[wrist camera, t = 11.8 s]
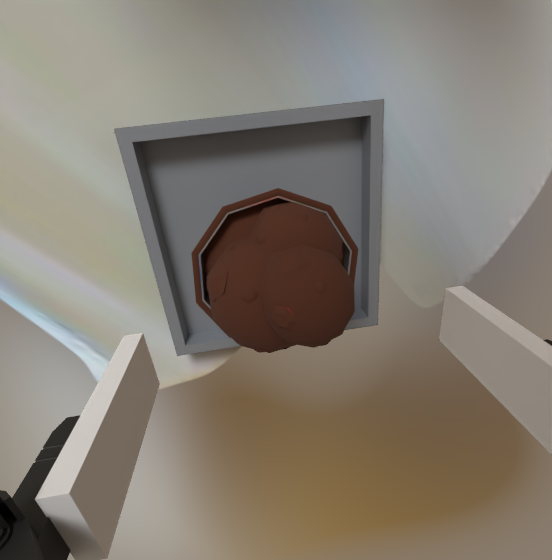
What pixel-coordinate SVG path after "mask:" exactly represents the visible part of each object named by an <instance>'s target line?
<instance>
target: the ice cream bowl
mask: <svg viewBox="0 0 552 560" xmlns="http://www.w3.org/2000/svg"><path fill="white" fill-rule="evenodd" d="M191 255H192V265H193V276H194V286H195V297H196V303H197V304H198V306H199V307H200V308H201V309H202V310H203V311H204V312H205V313H206V314H207V315H208V316H209V317H210V318H211V319H212V320H213V321H214V322H215V323H216V324H217V325H218V326H219V327H220V328H221V330H222V331H223V332H224V333H225V334H226V335H227V336H228V337H229V338H232V339H233V340H234V341H235V342H236V343H237V344H239V345H240V346H244V347H248V348H252V349H254V350H255V351H257V352H268V353H271V352H274V351H277V350H281V349H287V348H288V347H291V346H294V345H303V346H309V347H317V346H320V345H321V346H322V345H326V344H328V343H329V342H330V341H331V340H332V339H333V338H336V337H338V336H339V335H341V334H342V333H343V331H344V330H345V328H346V326H347V324H348V323H349V321H350V319H351V317H352V315H353V314H354V312H355V301H354V282H355V274H356V266H357V257H358V247H357V246H356V244H355V243H354V241H353V239H352V238H351V236H350V235H349V233H348V231H347V230H346V228H345V227H344V225H343V223H342V222H341V220H340V219H339V217H338V215H337V214H336V212H335V211H334V209H333V207H332V206H330V205H327V204H324V203H322V202H319V201H316V200H313V199H310V198H307V197H304V196H301V195H298V194H295V193H292V192H289V191H286V190H283V189H280V188H277V189H274V190H271V191H268V192H265V193H262V194H259V195H256V196H253V197H250V198H247V199H244V200H241V201H238V202H235V203H232V204H229V205H226V206H223V207H222V208H221V210H220V211H219V213H218V214H217V216H216V217H215V219H214V220H213V222H212V223H211V224H210V226H209V227H208V229H207V230H206V232H205V233H204V235H203V236H202V238H201V239H200V241H199V242H198V244H197V245H196V247H195V248H194V250H193V251H192V253H191Z"/></svg>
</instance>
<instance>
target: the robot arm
mask: <svg viewBox="0 0 552 560" xmlns="http://www.w3.org/2000/svg"><path fill="white" fill-rule="evenodd" d="M439 340H440V342H442V343H443V345H445V346H446V348H447V349H448V350H449V351H450V352H451V353H452V354H453V355H454V356H455V357H456V358H457V359H458V360H459V361H460V362H461V363H462V364H463V365H464V366H465V367H466V368H467V369H468V370H469V371H470V372H471V373H472V374H473V375H474V376H475V377H476V378H477V379H478V380H479V381H480V382H481V383H482V384H483V385H484V386H485V387H486V388H487V389H488V390H489V391H490V392H491V393H492V394H493V395H494V396H495V398H497V399H498V401H499V402H500V403H501V404H502V405H503V406H504V407H505V408H506V409H507V410H508V411H509V412H510V413H511V414H512V415H513V416H514V417H515V418H516V419H517V420H518V421H519V422H520V423H521V424H522V425H523V426H524V427H525V428H526V429H527V430H528V431H529V432H530V433H531V434H532V435H533V436H534V437H535V438H536V439H537V440H538V441H539V442H540V443H541V444H542V445H543V446H544V447H545V448H546V449H547V450H548V451H549V452H550V453H551V454H552V341H550V340H542V339H541V338H539V337H538V336H536V335H535V334H533V333H532V332H530V331H529V330H527V329H526V328H524V327H523V326H521V325H520V324H518V323H517V322H515V321H514V320H512V319H511V318H510V317H508V316H506V315H505V314H504V313H502V312H501V311H499V310H498V309H496V308H494V307H493V306H492V305H490V304H489V303H487V302H486V301H484V300H483V299H481V298H480V297H478V296H477V295H475V294H474V293H472V292H471V291H469V290H468V289H466V288H465V287H464V286H457V287H450V288H446V290H445V298H444V306H443V313H442V321H441V329H440V336H439ZM158 388H159V381H158V378H157V374H156V371H155V368H154V365H153V362H152V359H151V356H150V353H149V350H148V347H147V344H146V341H145V338H144V335H143V333H139V334H132V335H125V336H124V337H123V339H122V340H121V342H120V344H119V346H118V348H117V350H116V351H115V353H114V355H113V357H112V359H111V361H110V362H109V364H108V366H107V368H106V370H105V372H104V373H103V375H102V377H101V379H100V381H99V383H98V384H97V386H96V388H95V390H94V392H93V394H92V395H91V397H90V399H89V401H88V403H87V405H86V406H85V408H84V410H83V412H82V414H81V415H80V416H75V417H68V418H66V419H65V420H64V421H63V422H62V423H61V424H60V425H59V426H58V427H57V428H56V429H55V430H54V431H53V432H52V434H51V435H50V437H49V439H48V440H47V442H46V444H45V445H44V447H43V448H44V449H43V450H41V452H40V454H39V455H38V457H37V458H36V462H35V463H33V465H32V467H31V468H30V470H29V472H28V473H27V475H26V476H25V478H24V480H23V481H22V483H21V484H20V486H19V488H18V489H17V491H16V493H15V494H14V496H13V498H11V497H10V495H9V494H8V493H7V492H6V491H0V560H67V558H68V555H69V553H71V554H72V556H73V557H74V559H75V560H101V559H106V558H108V554H109V551H110V548H111V544H112V541H113V538H114V534H115V531H116V528H117V524H118V520H119V518H120V514H121V511H122V508H123V504H124V501H125V497H126V494H127V491H128V487H129V484H130V481H131V478H132V474H133V471H134V468H135V464H136V461H137V458H138V454H139V451H140V448H141V444H142V441H143V438H144V434H145V431H146V428H147V424H148V421H149V417H150V414H151V411H152V408H153V404H154V401H155V398H156V394H157V391H158Z"/></svg>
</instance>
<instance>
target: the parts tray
mask: <svg viewBox="0 0 552 560" xmlns="http://www.w3.org/2000/svg"><path fill="white" fill-rule="evenodd" d="M383 119H384V99H381V100H372V101H363V102H354V103H344V104H335V105H326V106H317V107H308V108H299V109H289V110H280V111H271V112H262V113H253V114H244V115H235V116H225V117H216V118H207V119H198V120H189V121H180V122H171V123H161V124H152V125H143V126H134V127H125V128H116V129H114V130H115V134H116V137H117V141H118V145H119V148H120V152H121V155H122V159H123V163H124V166H125V170H126V173H127V177H128V181H129V184H130V188H131V191H132V195H133V199H134V202H135V206H136V209H137V213H138V217H139V220H140V224H141V227H142V231H143V235H144V238H145V242H146V245H147V249H148V252H149V256H150V260H151V263H152V267H153V270H154V274H155V278H156V281H157V285H158V288H159V292H160V296H161V299H162V303H163V306H164V310H165V314H166V317H167V321H168V324H169V328H170V332H171V335H172V339H173V342H174V346H175V350H176V353H177V356H180V355H186V354H193V353H199V352H206V351H212V350H218V349H225V348H231V347H238V346H240V345H239V344H237V343H236V342H235V341H234V340H233V339H232V338H229V337H228V336H227V335H226V334H225V333H224V332H223V331H222V330H221V328H220V327H219V326H218V325H217V324H216V323H215V322H214V321H213V320H212V319H211V318H210V317H209V316H208V315H207V314H206V313H205V312H204V311H203V310H202V309H201V308H200V307H199V306H198V304H197V303H196V297H195V286H194V276H193V265H192V255H191V253H192V251H193V250H194V248H195V247H196V245H197V244H198V242H199V241H200V239H201V238H202V236H203V235H204V233H205V232H206V230H207V229H208V227H209V226H210V224H211V223H212V222H213V220H214V219H215V217H216V216H217V214H218V213H219V211H220V210H221V208H222V207H223V206H226V205H229V204H232V203H235V202H238V201H241V200H244V199H247V198H250V197H253V196H256V195H259V194H262V193H265V192H268V191H271V190H274V189H277V188H280V189H283V190H286V191H289V192H292V193H295V194H298V195H301V196H304V197H307V198H310V199H313V200H316V201H319V202H322V203H324V204H327V205H330V206H332V207H333V209H334V211H335V212H336V214H337V215H338V217H339V219H340V220H341V222H342V223H343V225H344V227H345V228H346V230H347V231H348V233H349V235H350V236H351V238H352V239H353V241H354V243H355V244H356V246H357V247H358V257H357V266H356V274H355V282H354V301H355V312H354V314H353V315H352V317H351V319H350V321H349V323H348V324H347V326H346V328H345V330H348V329H354V328H361V327H367V326H373V325H378V302H379V301H378V300H379V265H380V229H381V192H382V156H383Z"/></svg>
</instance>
